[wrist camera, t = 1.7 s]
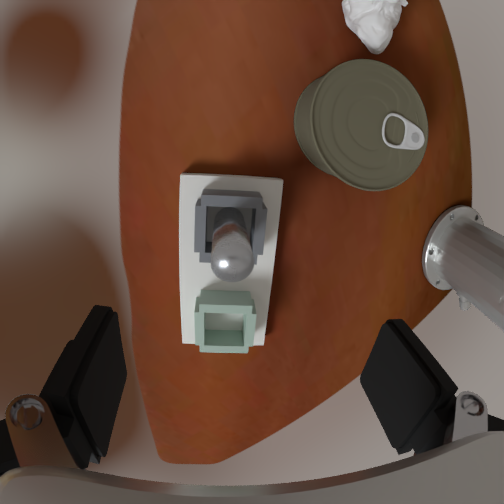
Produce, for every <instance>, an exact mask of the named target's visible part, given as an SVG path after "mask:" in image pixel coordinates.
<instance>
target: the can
mask: <svg viewBox="0 0 504 504" xmlns="http://www.w3.org/2000/svg"><path fill="white" fill-rule="evenodd" d="M294 130H295V135H296V138H297V141H298V144H299V146H300V148H301V150H302V151H303V153H304V154H305V156H306V157H307V158H308V159H309V160H310V162H311V163H313V164H314V165H315V166H316V167H317V168H319V169H320V170H322V171H324V172H326V173H328V174H330V175H333V176H335V177H338V178H339V179H340V180H342V181H343V182H345V183H347V184H349V185H351V186H353V187H355V188H358V189H362V190H367V191H382V190H387V189H391V188H393V187H396V186H398V185H400V184H401V183H403V182H404V181H406V180H407V179H408V178H409V177H410V176H411V175H412V174H413V173H414V172H415V170H416V169H417V168H418V166H419V164H420V163H421V161H422V159H423V156H424V154H425V150H426V147H427V141H428V120H427V115H426V111H425V108H424V105H423V102H422V100H421V98H420V96H419V94H418V92H417V91H416V89H415V88H414V86H413V85H412V84H411V82H410V81H409V80H408V79H407V78H406V77H405V76H404V75H403V74H401V73H400V72H399V71H398V70H396V69H395V68H393V67H391V66H389V65H387V64H385V63H382V62H379V61H376V60H370V59H356V60H351V61H347V62H344V63H342V64H340V65H338V66H336V67H335V68H333V69H332V70H330V71H329V72H328V73H327V74H326V75H324V76H322V77H320V78H318V79H316V80H315V81H313V82H312V83H311V84H310V85H308V86H307V87H306V89H305V90H304V91H303V92H302V94H301V96H300V97H299V99H298V102H297V104H296V108H295V112H294Z"/></svg>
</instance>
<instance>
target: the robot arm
mask: <svg viewBox="0 0 504 504" xmlns="http://www.w3.org/2000/svg"><path fill="white" fill-rule="evenodd" d="M422 265H423V271H424V274H425V277H426V278H427V280H428V281H429V282H430V283H431V284H432V285H433V286H434V287H436V288H438V289H441V290H448V289H452V288H453V289H454V290H455V291H456V292H457V295H458V296H459V303H460V308H461V310H468V309H469V308H470V307H471V303H472V304H473V305H474V306H475V307H477V308H478V309H479V310H480V311H481V312H482V313H483V314H484V315H485V316H487V317H488V318H489V319H490V320H491V321H492V322H494V324H495V325H497V326H498V327H499V328H500V329H501V330H502V331H503V332H504V236H502V235H500V234H498V233H497V232H495V231H493V230H491V229H489V228H487V227H485V226H484V224H483V221H482V218H481V216H480V215H479V213H478V212H477V211H475V210H474V209H473V208H471V207H468V206H465V205H457V206H454V207H451V208H449V209H448V210H446V211H445V212H444V213H443V214H442V215H441V216H439V218H438V219H437V220H436V222H435V223H434V224H433V226H432V228H431V229H430V231H429V234H428V236H427V238H426V241H425V245H424V249H423V255H422ZM126 377H127V370H126V365H125V359H124V353H123V348H122V342H121V335H120V328H119V322H118V314H117V312H113V310H112V308H111V307H107V306H99V305H95V306H94V307H93V309H92V310H91V312H90V313H89V315H88V317H87V318H86V320H85V321H84V323H83V325H82V327H81V328H80V330H79V332H78V334H77V335H76V337H75V339H74V340H70V341H69V342H68V343H67V345H66V347H65V348H64V350H63V352H62V354H61V356H60V357H59V359H58V361H57V363H56V364H55V366H54V368H53V370H52V372H51V374H50V376H49V377H48V380H47V381H46V383H45V385H44V387H43V389H42V391H41V393H40V395H39V396H36V395H33V394H24V395H20V396H18V397H16V398H14V399H13V400H12V401H11V402H10V403H9V405H8V406H7V408H6V412H5V417H6V418H5V419H3V420H1V421H0V504H504V420H502V419H499V418H496V417H494V416H491V415H489V414H487V406H486V403H485V402H484V400H483V399H482V398H481V397H480V396H478V395H477V394H475V393H473V392H469V391H465V392H461V393H460V394H459V395H458V396H457V397H455V395H454V394H455V393H456V391H457V390H458V387H457V386H456V385H455V383H454V382H453V381H452V379H451V378H450V377H449V375H448V374H447V373H446V372H445V370H444V369H443V368H442V367H441V365H440V364H439V363H438V362H437V360H436V359H435V358H434V357H433V355H432V354H431V353H430V352H429V350H428V349H427V348H426V347H425V345H424V344H423V343H422V342H421V341H420V339H419V338H418V337H417V336H416V335H415V333H413V331H412V330H411V329H410V327H409V326H408V325H407V324H406V323H405V322H404V321H403V320H402V319H389V320H387V321H386V323H385V324H383V325H382V327H381V329H380V332H379V334H378V337H377V339H376V342H375V344H374V346H373V349H372V351H371V353H370V356H369V358H368V360H367V363H366V365H365V367H364V369H363V371H362V374H361V377H360V382H361V385H362V387H363V389H364V391H365V393H366V395H367V397H368V399H369V401H370V403H371V405H372V406H373V409H374V411H375V412H376V415H377V417H378V419H379V421H380V423H381V425H382V427H383V429H384V431H385V433H386V435H387V437H388V439H389V441H390V443H391V445H392V447H393V448H396V450H397V452H398V454H403V453H406V452H409V451H411V450H412V448H413V449H414V451H415V452H414V456H412V457H409V458H406V459H402V460H399V461H396V462H392V463H389V464H385V465H382V466H378V467H374V468H370V469H366V470H362V471H357V472H353V473H348V474H343V475H339V476H333V477H327V478H322V479H314V480H307V481H300V482H291V483H281V484H268V485H249V486H206V485H187V484H174V483H164V482H155V481H147V480H139V479H133V478H127V477H121V476H115V475H109V474H104V473H98V472H92V471H88V470H86V469H85V468H87V467H88V464H89V462H93V463H97V464H99V463H100V459H101V456H103V457H105V456H106V454H107V451H108V446H109V442H110V437H111V434H112V430H113V426H114V422H115V418H116V414H117V411H118V407H119V403H120V400H121V396H122V392H123V389H124V385H125V382H126Z"/></svg>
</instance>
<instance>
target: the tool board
mask: <svg viewBox="0 0 504 504" xmlns="http://www.w3.org/2000/svg"><path fill="white" fill-rule="evenodd" d="M282 189H283V180H282V179H281V178H270V177H257V176H242V175H224V174H202V173H182V174H181V175H180V203H179V271H180V304H181V326H182V343H189V344H195V345H200V352H215V353H248V347H249V346H253V345H264V338H265V331H266V323H267V316H268V308H269V300H270V292H271V284H272V276H273V268H274V260H275V251H276V243H277V234H278V226H279V217H280V208H281V199H282ZM226 207H233V208H236V209H238V210H239V211H240V212H241V213H242V214H243V217H244V220H245V224H246V228H247V232H248V236H249V240H250V244H251V248H252V252H253V256H254V268H253V270H252V272H251V273H250V275H249V276H248V277H246V278H245V279H243V280H241V281H238V282H226V281H223V280H221V279H219V278H218V277H217V276H216V275H215V274H214V272H213V271H212V268H211V251H212V239H213V228H214V219H215V216H216V214H217V213H218V212H219V211H220V210H221V209H223V208H226Z"/></svg>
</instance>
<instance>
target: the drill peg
mask: <svg viewBox="0 0 504 504" xmlns="http://www.w3.org/2000/svg"><path fill="white" fill-rule="evenodd" d="M211 268H212V271H213V272H214V274H215V275H216V276H217V277H218V278H219V279H221V280H223V281H226V282H238V281H241V280H243V279H245V278H246V277H248V276H249V275H250V273H251V272H252V270H253V268H254V256H253V252H252V248H251V244H250V240H249V236H248V232H247V228H246V224H245V220H244V217H243V214H242V213H241V212H240V211H239V210H238V209H236V208H233V207H226V208H223V209H221V210H220V211H219V212H218V213H217V214H216V216H215V219H214V228H213V239H212V251H211Z"/></svg>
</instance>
